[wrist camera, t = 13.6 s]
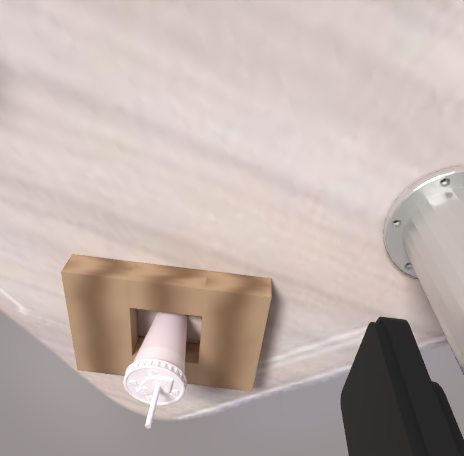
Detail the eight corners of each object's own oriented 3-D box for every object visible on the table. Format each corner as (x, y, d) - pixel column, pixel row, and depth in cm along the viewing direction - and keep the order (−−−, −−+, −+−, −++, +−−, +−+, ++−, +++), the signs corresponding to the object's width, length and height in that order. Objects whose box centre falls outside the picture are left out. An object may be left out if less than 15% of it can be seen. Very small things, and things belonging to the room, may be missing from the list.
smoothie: (208, 325, 50) (191, 437, 38) (167, 342, 52) (138, 452, 41) (177, 290, 47) (148, 399, 36) (134, 309, 49) (94, 418, 38)
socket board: (271, 278, 45) (271, 297, 43) (252, 371, 54) (252, 391, 52) (72, 254, 45) (61, 271, 43) (86, 351, 54) (77, 370, 52)
